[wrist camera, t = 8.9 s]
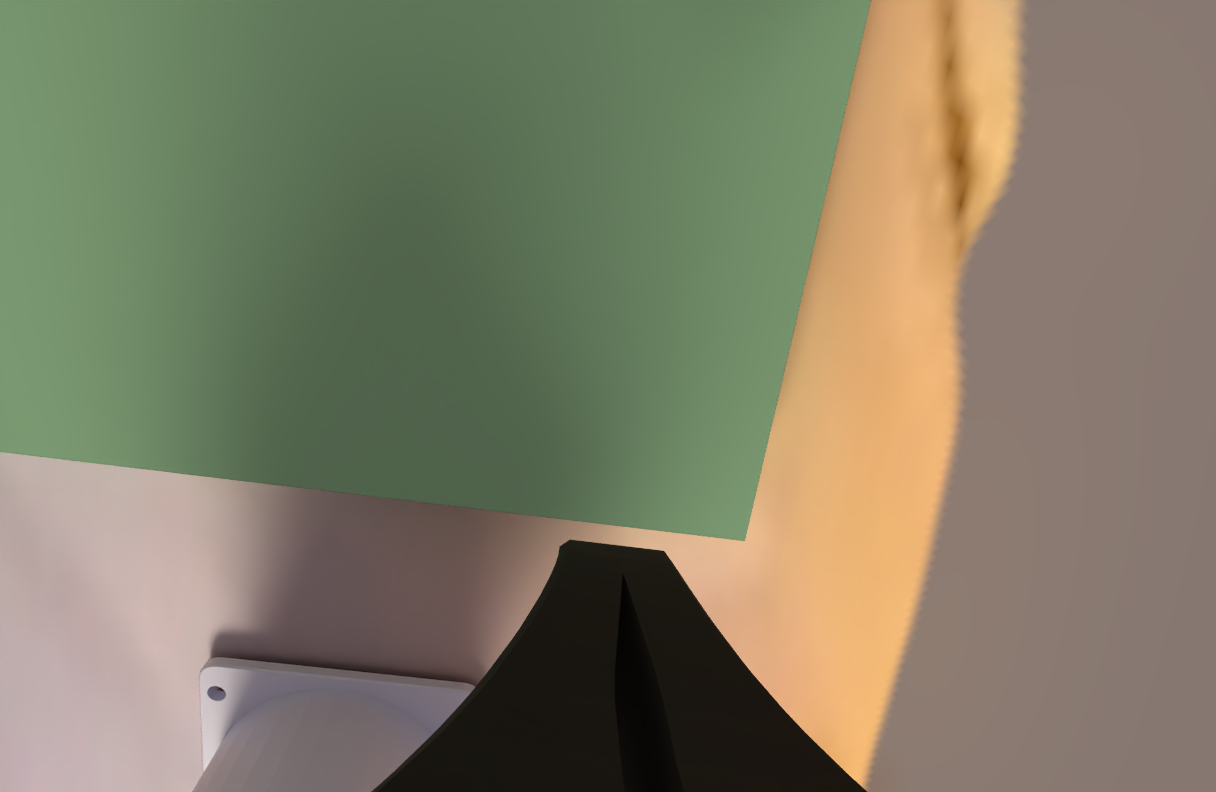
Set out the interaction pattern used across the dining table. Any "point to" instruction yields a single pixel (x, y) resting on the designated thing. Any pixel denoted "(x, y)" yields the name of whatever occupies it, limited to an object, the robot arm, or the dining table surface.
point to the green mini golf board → (417, 243)
